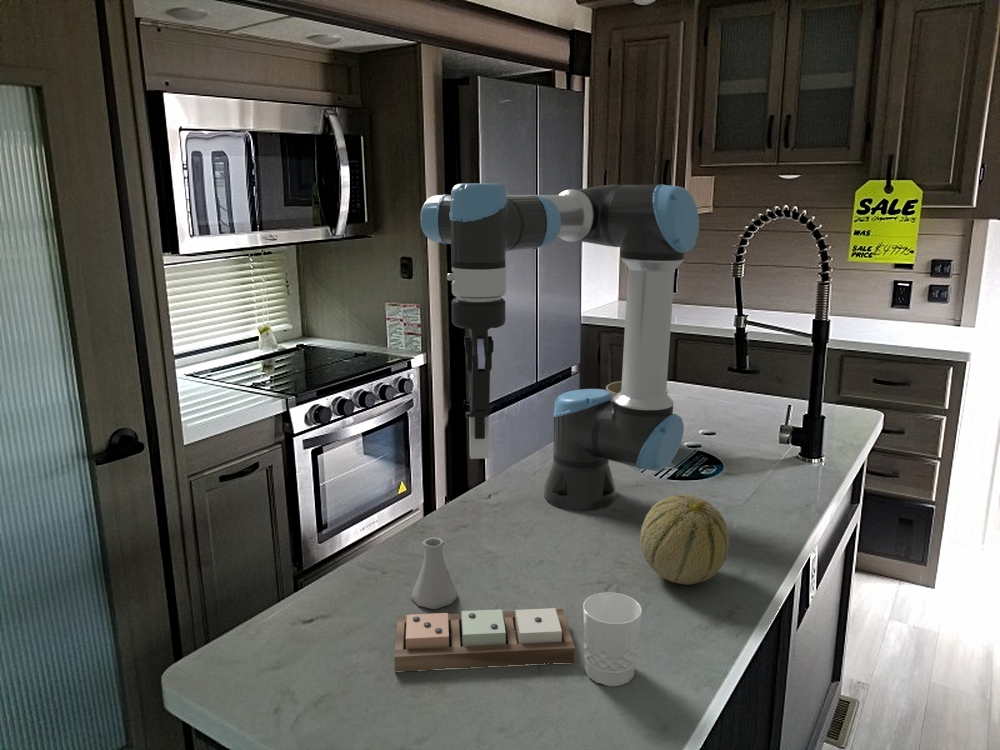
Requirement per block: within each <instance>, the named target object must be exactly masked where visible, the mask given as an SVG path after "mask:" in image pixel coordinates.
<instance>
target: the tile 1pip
mask: <svg viewBox="0 0 1000 750" xmlns="http://www.w3.org/2000/svg"><path fill="white" fill-rule="evenodd" d="M556 609H557V608H555V607H553V608H550V607H549V608H530V609H529V608H528V609H515V610H514V611H515V631H516V632H515V635H516V640H517V644H526V643H547V642H562V630H561V626H560V623H559V619H558V616H557V612H556Z"/></svg>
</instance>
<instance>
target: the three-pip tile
mask: <svg viewBox="0 0 1000 750" xmlns="http://www.w3.org/2000/svg"><path fill="white" fill-rule="evenodd" d="M448 614H449V613H448V612H443V613H442V612H440V613H439V612H438V613H437V612H436V613H435V612H434V613H418V614H414V613H413V614H407V615H406V616H407V623H406V637H405V649H423V648H443V647H450V641H449V640H450V635H449V629H448Z"/></svg>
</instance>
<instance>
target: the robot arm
mask: <svg viewBox="0 0 1000 750" xmlns="http://www.w3.org/2000/svg"><path fill="white" fill-rule="evenodd" d="M450 193H451V194H450ZM450 193H448V194H446V193H445V194H435V195H432V196H430V197H429V198H427V200H426V201H425V202H424V204H423V205H422V207H421V210H420V214H419V215H420V219H419V220H420V223H419V224H420V227H421V230H422V232H423V234H424V236H425V237H426V238H427V239H428V240H430V241H432V242H435V243H441V244H444V245H449V244H450V251H451V252H450V253H451V263H450V264H451V273H447V275H446V279H447V280H448V281H452V282H451V294H452V295H453V296H454V298H452V300H451V323H452V325H453V326H455V327H457V328H459V329H469V336H464V340H463V343H464V344H463V345H464V349H465V358H466V359H465V362H466V367H467V371H468V392H469V393H468V399H467V400H468V403H469V406H468V410H469V411H465V418H469V459H470V460H475V459H476V460H479V459H481V460H482V459H490V456H489V451H490V450H489V449H490V447H489V446H490V445H489V442H490V441H489V437H490V435H489V432H490V431H489V430H490V428H489V427H490V423H489V421H490V420H489V419H490V418H489V417H490V414H491V412H493V407H492V405H490V397H491V396H490V395H491V393H490V391H491V390H490V389H491V371H492V368H493V362H492V361H493V356H492V355H493V352H494V350H495V349H494V346H495V345H494V339H493V337H492V336H490V335H489V330H490V329H497V328H500V327H503V326H504V325H505V324H506V300H505V299H504V298H503V296H505V295H506V293H507V265H506V261H507V260H506V258H507V257H506V254H507V253H506V252H509V251H518V250H527V249H528V250H529V249H533V250H537V249H539V248H542V247H547V246H549V245H550V244H552V243H553V242H554V241H555V240H556V239H557V238H560V239H561V240H563V241H565V242H570V243H573V242H581V243H587V244H588V243H589V244H594V245H600V246H605V247H613V248H620V260H621V261H622V262H623V263H624V264H625V265H626V267H627V282H626V283H627V284H626V298H625V299H626V300H625V317H624V318H625V319H624V336H623V337H624V339H623V354H622V370H621V371H622V375H621V381H622V388H621V391H620V392H619V393H618V394H617V395H616V396H614V398H613V402H612V401H611V400H612V396H611V393H610V392H609V391H607V390H606V389H600V388H583V389H575V390H570V391H566V392H563V393H561V394H560V395H559V396H557V397H556V399H555V401H554V408H553V414H552V416H553V446H552V447H553V448H552V449H553V450H552V451H553V454H552V455H553V457H552V464H551V467H550V469H549V472H548V475H547V477H546V480H545V482H544V487H543V488H544V490H543V491H544V493H543V494H544V495H543V497H544V499H545V500H546V501H547V503H549V504H551V505H553V506H555V507H558V508H560V509H565V510H568V511H576V512H579V511H580V512H583V511H584V512H587V511H588V512H590V511H598V510H602V509H606V508H608V507H610V506H611V505H612V504H614V503H615V501H616V493H617V489H616V483H615V481H614V478H613V474H612V471H611V467H610V465H609V464H610V463H609V462H610V461H613V462H617V463H620V464H624V465H627V466H630V467H635V468H637V469H638V470H647V471H653V472H659V471H662V470H665V469H666V468H667V467H668V466H669V465H670V464H671V463H672V461H673V460H674V458H675V457H676V455H677V454H678V451H679V449H680V446H681V444H682V439H683V435H684V430H685V427H684V422H683V419H682V417H681V415H678V414H677V413H674V401H673V399H672V398H671V397H670V396H669V395H668V393H667V394H666V387H667V384H668V373H669V372H668V371H669V355H670V343H671V342H670V340H671V328H672V327H671V326H672V314H673V313H672V312H673V301H674V299H673V298H674V286H675V285H674V284H675V271H676V269H677V268H678V267H679V266H680V265H681V264H682V263H684V260H685V253H687V252H690V251H691V250H692V249H693V248H694V247H695V245H696V243H697V240H696V239H698V237H699V231H700V218H699V217H700V216H699V212H698V207H697V203H696V200H695V199H694V197H693V195H692V194H691V192H690V191H689V190H687V189H686V188H685V187H682V186H678V185H666V184H663V183H662V184H608V185H607V184H606V185H599V186H593V187H587V188H580V189H579V188H578V189H575V188H574V189H571V188H570V189H566V190H564V191H562V192H560V193H559V194H507V191H506V187H505V185H503V184H502V183H490V182H489V183H488V182H485V183H481V182H480V183H474V182H473V183H469V182H468V183H465V182H464V183H457V184H455V185H454V186H453V187H452V189H451V192H450ZM667 388H668V387H667ZM609 460H610V461H609Z"/></svg>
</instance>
